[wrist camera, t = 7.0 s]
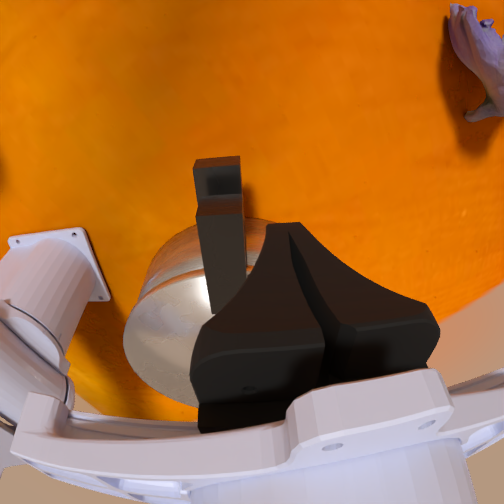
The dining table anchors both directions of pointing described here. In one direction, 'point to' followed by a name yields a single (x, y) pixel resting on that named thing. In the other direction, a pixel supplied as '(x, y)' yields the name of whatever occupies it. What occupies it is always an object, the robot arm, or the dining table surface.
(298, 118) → the dining table surface
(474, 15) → the flower
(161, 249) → the cooker pot
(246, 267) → the cooker lid
